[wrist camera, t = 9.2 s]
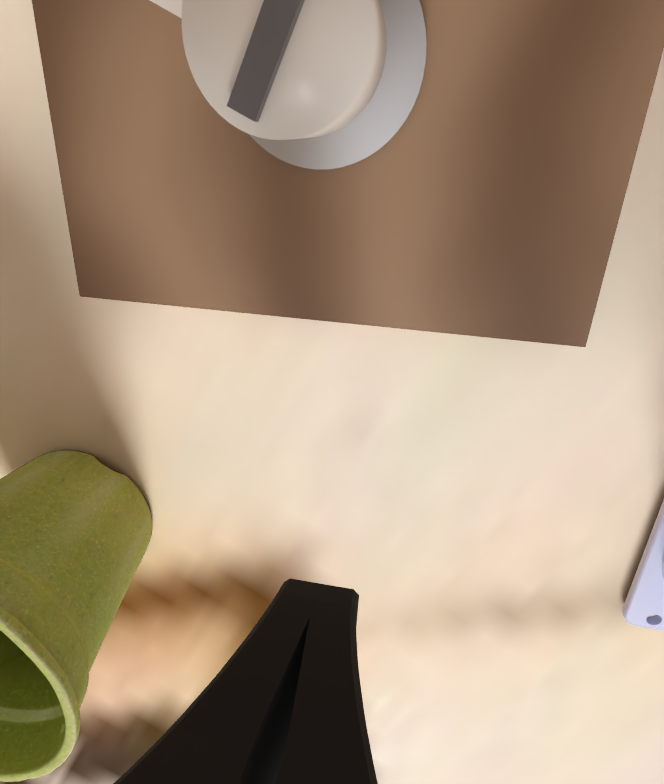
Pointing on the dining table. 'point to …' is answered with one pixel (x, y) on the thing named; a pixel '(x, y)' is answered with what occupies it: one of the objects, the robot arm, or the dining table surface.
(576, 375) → the dining table surface
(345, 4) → the gray-tipped lever post
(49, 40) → the brown rectangular board
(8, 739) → the plant pot
